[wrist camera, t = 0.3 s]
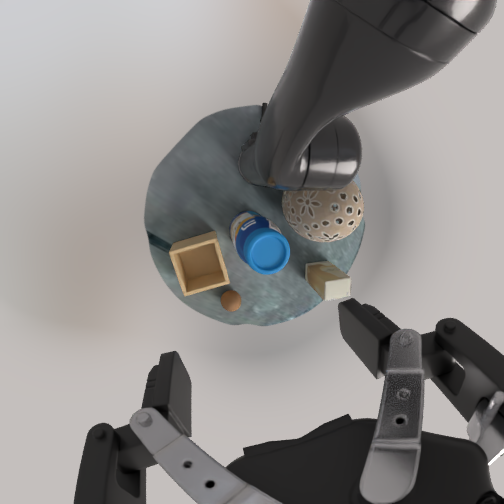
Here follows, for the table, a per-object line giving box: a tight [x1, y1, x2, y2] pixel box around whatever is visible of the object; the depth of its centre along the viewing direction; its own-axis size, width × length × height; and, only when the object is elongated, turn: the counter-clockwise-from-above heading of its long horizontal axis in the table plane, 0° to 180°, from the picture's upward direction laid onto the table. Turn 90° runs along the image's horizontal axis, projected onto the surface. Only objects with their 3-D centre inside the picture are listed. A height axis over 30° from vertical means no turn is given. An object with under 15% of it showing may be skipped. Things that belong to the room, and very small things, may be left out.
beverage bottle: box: [229, 211, 290, 274], centre depth 49 cm, size 8×8×20 cm
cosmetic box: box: [305, 261, 352, 301], centre depth 58 cm, size 6×4×12 cm
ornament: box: [282, 181, 364, 242], centre depth 50 cm, size 15×15×20 cm
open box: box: [169, 231, 230, 296], centre depth 55 cm, size 9×9×8 cm
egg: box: [221, 290, 241, 311], centre depth 59 cm, size 4×4×6 cm
